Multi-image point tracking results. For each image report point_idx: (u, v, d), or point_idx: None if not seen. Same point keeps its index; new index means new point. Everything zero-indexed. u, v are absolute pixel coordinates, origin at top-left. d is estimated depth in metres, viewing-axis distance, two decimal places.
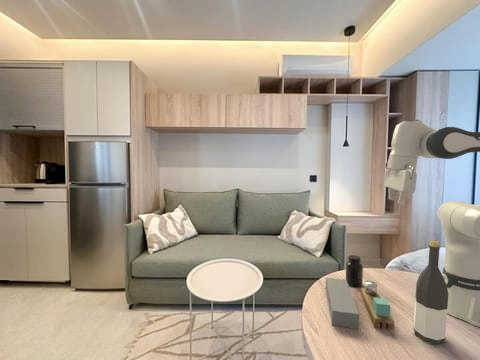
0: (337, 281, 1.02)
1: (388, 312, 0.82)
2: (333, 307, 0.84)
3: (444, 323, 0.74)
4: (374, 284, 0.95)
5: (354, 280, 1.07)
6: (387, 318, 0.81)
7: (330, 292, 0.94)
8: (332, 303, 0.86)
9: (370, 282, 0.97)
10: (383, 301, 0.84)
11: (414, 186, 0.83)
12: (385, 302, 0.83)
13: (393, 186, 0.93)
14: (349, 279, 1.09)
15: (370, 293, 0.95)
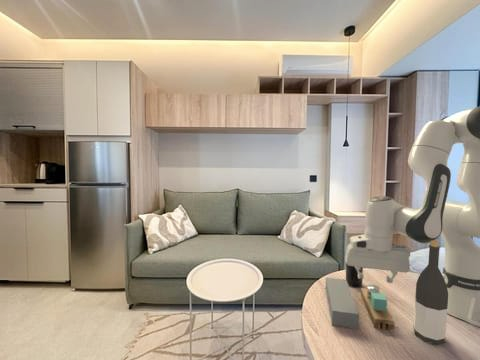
0: (337, 281, 1.02)
1: (385, 307, 0.85)
2: (333, 307, 0.84)
3: (444, 323, 0.74)
4: (377, 288, 0.92)
5: (354, 280, 1.07)
6: (387, 318, 0.81)
7: (330, 292, 0.94)
8: (332, 303, 0.86)
9: (372, 286, 0.94)
10: (381, 296, 0.87)
11: None
12: (382, 297, 0.86)
13: (379, 267, 0.87)
14: (349, 279, 1.09)
15: None
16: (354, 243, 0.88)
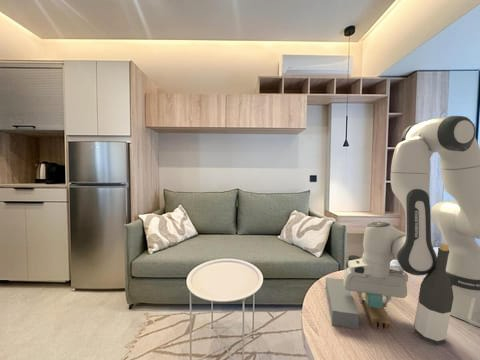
0: (337, 281, 1.02)
1: (381, 304, 0.86)
2: (333, 307, 0.84)
3: (446, 325, 0.73)
4: None
5: None
6: (384, 318, 0.81)
7: (330, 292, 0.94)
8: (332, 303, 0.86)
9: None
10: (376, 294, 0.88)
11: None
12: (378, 294, 0.88)
13: (377, 292, 0.88)
14: None
15: None
16: (352, 269, 0.88)
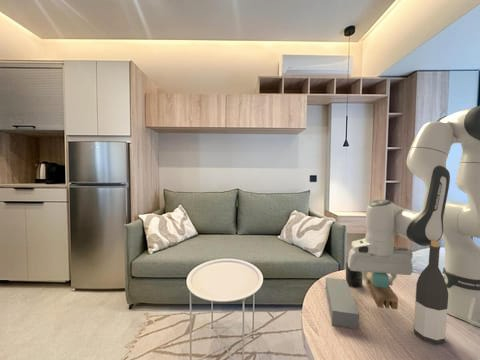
0: (337, 281, 1.02)
1: (387, 283, 0.85)
2: (333, 307, 0.84)
3: (444, 323, 0.74)
4: None
5: (354, 280, 1.07)
6: (391, 296, 0.80)
7: (330, 292, 0.94)
8: (332, 303, 0.86)
9: None
10: (382, 273, 0.87)
11: None
12: (384, 274, 0.87)
13: (382, 270, 0.87)
14: (349, 279, 1.09)
15: None
16: (356, 248, 0.88)
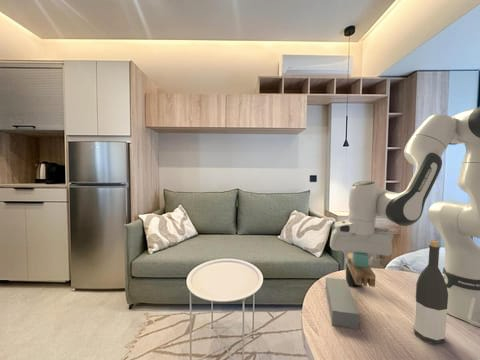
0: (337, 281, 1.02)
1: (367, 263, 0.86)
2: (333, 307, 0.84)
3: (444, 323, 0.74)
4: None
5: None
6: (369, 274, 0.81)
7: (330, 292, 0.94)
8: (332, 303, 0.86)
9: None
10: (363, 253, 0.88)
11: None
12: (365, 254, 0.88)
13: (363, 250, 0.88)
14: (349, 279, 1.09)
15: None
16: (338, 227, 0.89)
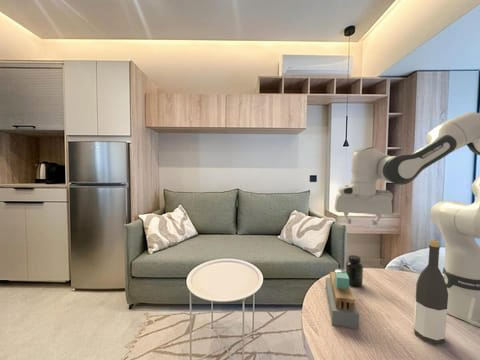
0: None
1: (347, 285, 0.89)
2: (333, 307, 0.84)
3: (444, 323, 0.74)
4: (343, 272, 0.93)
5: (354, 280, 1.07)
6: (348, 297, 0.83)
7: (330, 292, 0.94)
8: (332, 303, 0.86)
9: (340, 270, 0.95)
10: (344, 275, 0.90)
11: None
12: (346, 276, 0.90)
13: (365, 211, 0.96)
14: (349, 279, 1.09)
15: None
16: (342, 190, 0.97)
